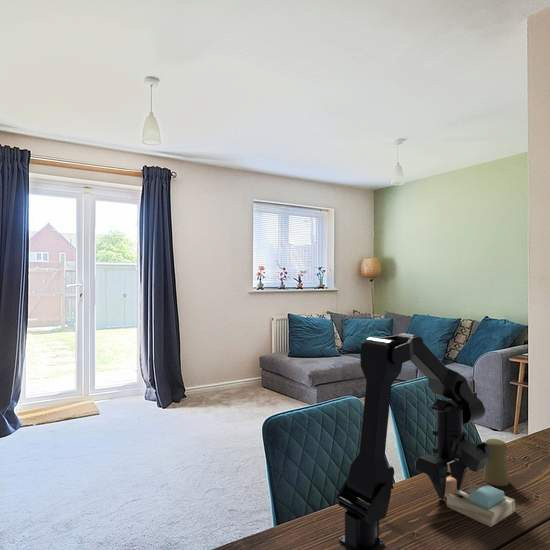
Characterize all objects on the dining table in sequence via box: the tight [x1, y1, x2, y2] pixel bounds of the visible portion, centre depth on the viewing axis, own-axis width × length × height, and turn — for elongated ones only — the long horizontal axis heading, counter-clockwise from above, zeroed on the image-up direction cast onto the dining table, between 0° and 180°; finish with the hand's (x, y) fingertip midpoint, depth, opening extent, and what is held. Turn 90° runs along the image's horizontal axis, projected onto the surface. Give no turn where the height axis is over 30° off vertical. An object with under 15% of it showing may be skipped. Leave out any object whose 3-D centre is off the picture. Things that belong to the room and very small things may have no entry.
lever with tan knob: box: [444, 476, 505, 510], centre depth 101 cm, size 7×12×5 cm, turn 36°
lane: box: [446, 482, 516, 528], centre depth 99 cm, size 10×10×4 cm
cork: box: [482, 438, 510, 487], centre depth 113 cm, size 6×6×11 cm
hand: (449, 494), depth 105 cm, fingers open, 6 cm apart
